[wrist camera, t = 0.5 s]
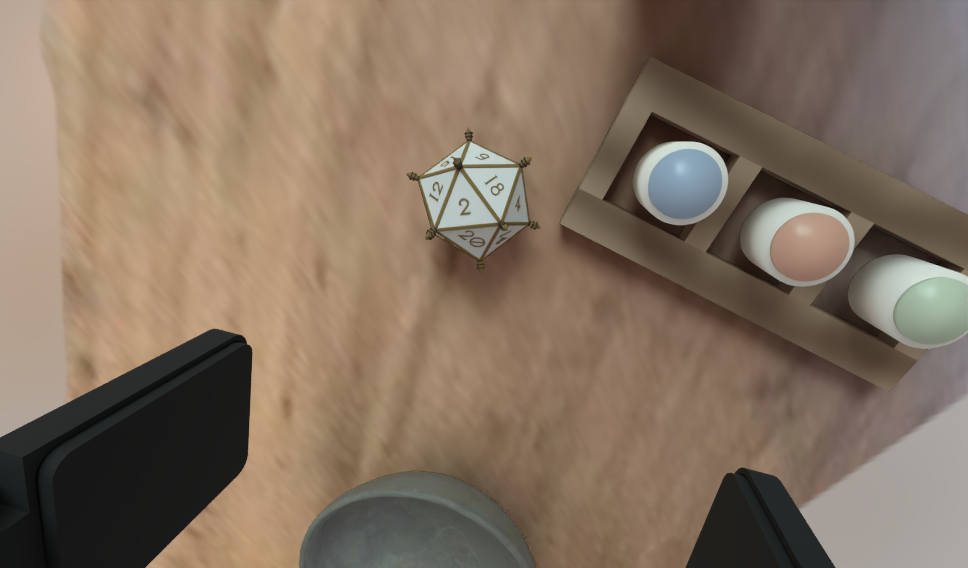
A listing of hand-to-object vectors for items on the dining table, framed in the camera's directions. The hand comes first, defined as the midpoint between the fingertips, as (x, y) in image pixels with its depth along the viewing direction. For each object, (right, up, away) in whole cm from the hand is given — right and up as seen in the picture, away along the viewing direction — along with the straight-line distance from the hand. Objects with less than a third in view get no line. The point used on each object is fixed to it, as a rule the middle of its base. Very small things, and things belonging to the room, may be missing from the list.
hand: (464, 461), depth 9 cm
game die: (0, +10, +27) cm, 29 cm away
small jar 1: (+13, +10, +22) cm, 28 cm away
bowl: (-4, -20, +37) cm, 43 cm away
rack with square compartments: (+20, +7, +24) cm, 33 cm away
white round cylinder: (+27, +3, +22) cm, 35 cm away
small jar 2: (+20, +7, +22) cm, 31 cm away
